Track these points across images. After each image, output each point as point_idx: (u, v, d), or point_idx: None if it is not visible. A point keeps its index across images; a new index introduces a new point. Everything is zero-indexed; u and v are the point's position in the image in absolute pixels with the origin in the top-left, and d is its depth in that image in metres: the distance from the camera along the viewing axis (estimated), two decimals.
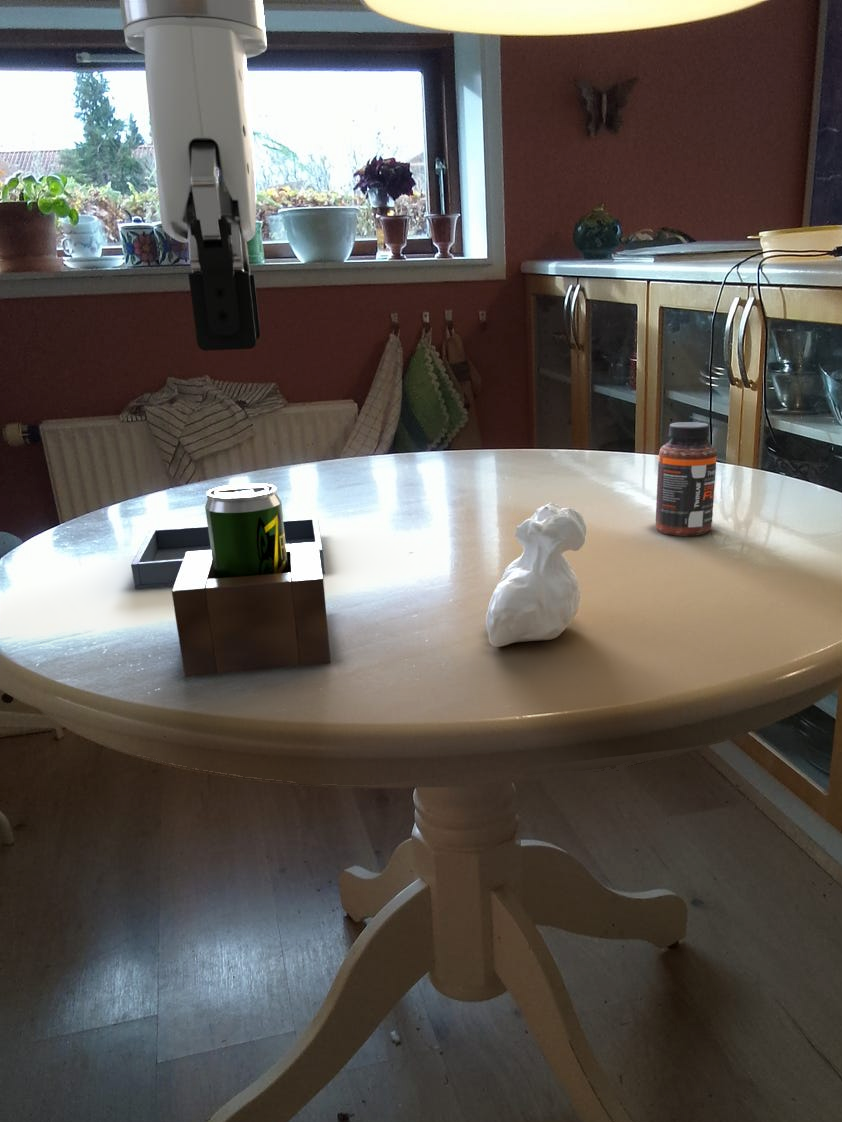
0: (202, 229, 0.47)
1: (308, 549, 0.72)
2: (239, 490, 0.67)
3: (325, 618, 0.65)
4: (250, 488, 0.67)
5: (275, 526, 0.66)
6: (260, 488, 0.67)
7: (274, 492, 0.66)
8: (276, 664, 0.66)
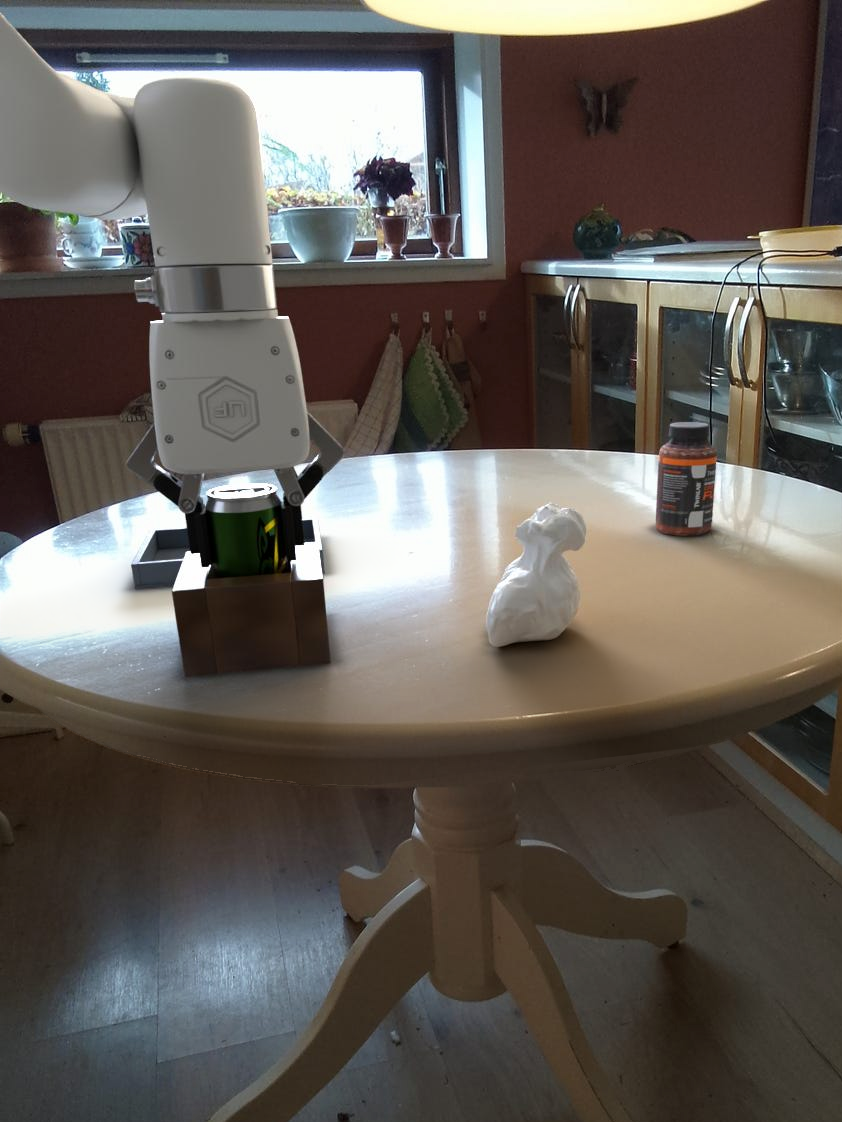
0: (323, 476, 0.66)
1: (308, 549, 0.72)
2: (239, 490, 0.67)
3: (325, 618, 0.65)
4: (250, 488, 0.67)
5: (275, 526, 0.66)
6: (260, 488, 0.67)
7: (274, 492, 0.66)
8: (276, 664, 0.66)
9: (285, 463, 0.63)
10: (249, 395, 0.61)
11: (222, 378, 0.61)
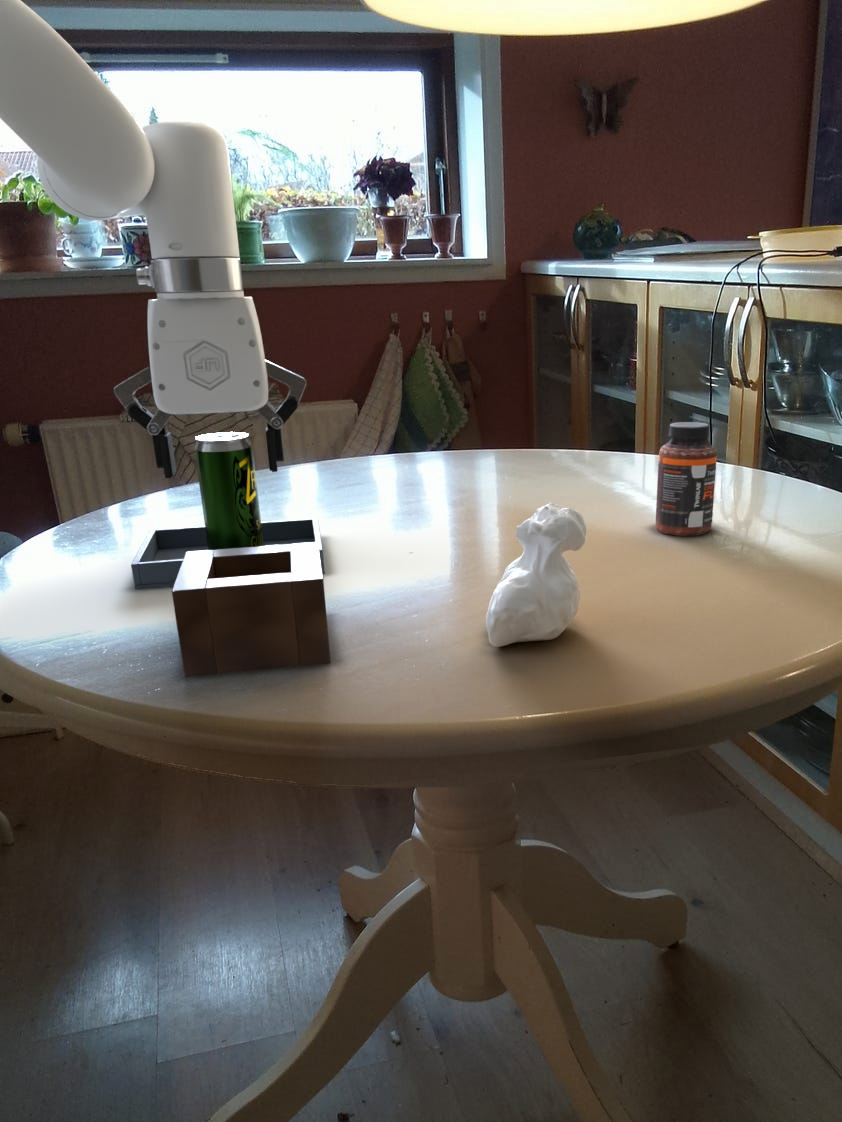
0: None
1: (308, 549, 0.72)
2: (220, 436, 0.88)
3: (325, 618, 0.65)
4: (229, 435, 0.88)
5: (247, 463, 0.87)
6: (236, 435, 0.89)
7: (246, 437, 0.87)
8: (276, 664, 0.66)
9: (249, 406, 0.84)
10: (222, 354, 0.82)
11: (201, 341, 0.82)
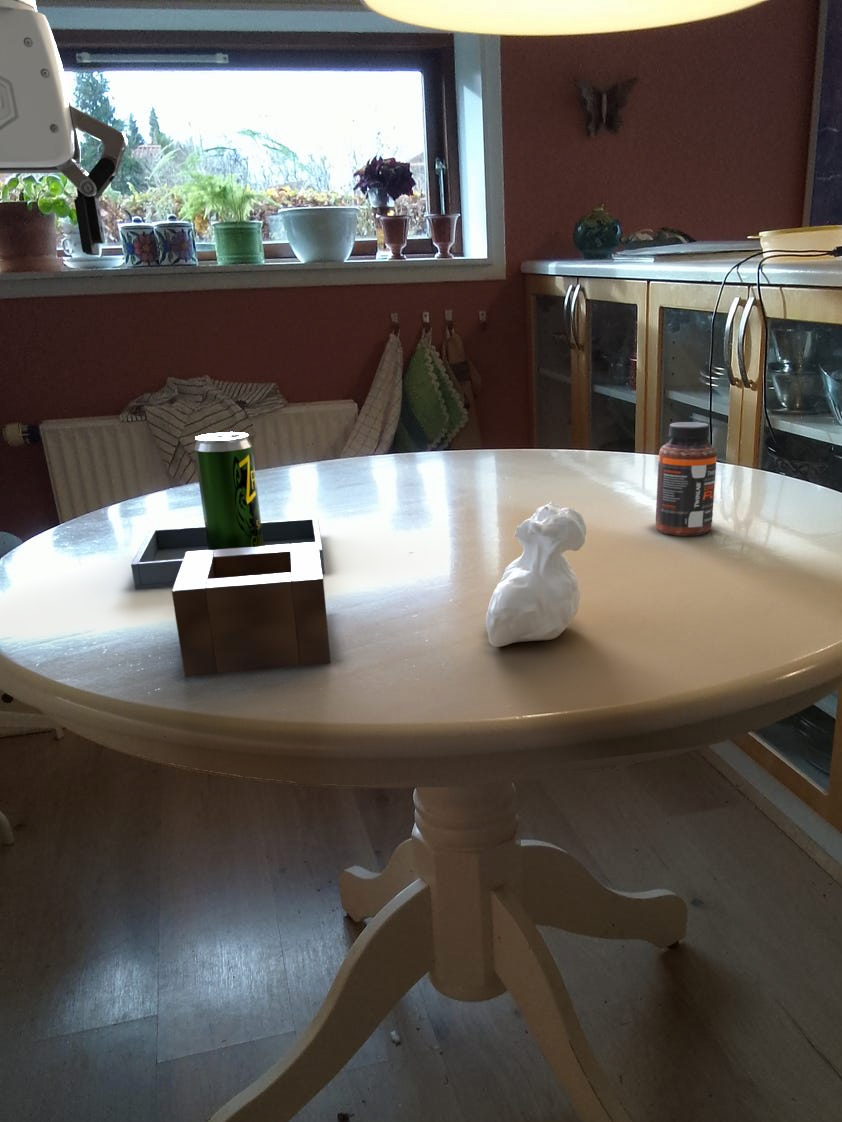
0: (116, 167, 0.70)
1: (308, 549, 0.72)
2: (220, 436, 0.88)
3: (325, 618, 0.65)
4: (228, 435, 0.88)
5: (247, 463, 0.87)
6: (236, 435, 0.89)
7: (246, 437, 0.87)
8: (276, 664, 0.66)
9: (46, 159, 0.67)
10: (5, 85, 0.65)
11: None
